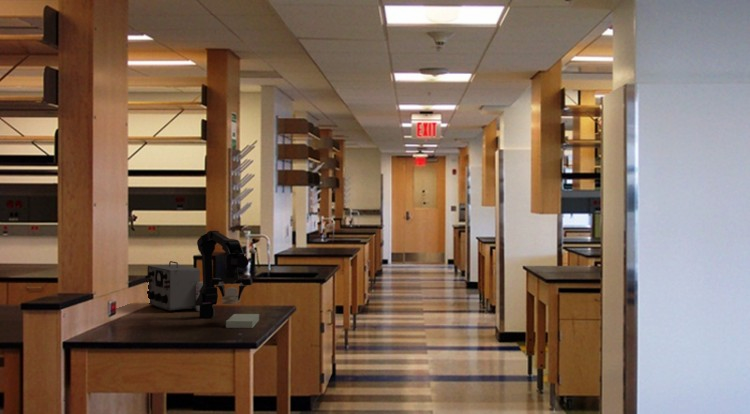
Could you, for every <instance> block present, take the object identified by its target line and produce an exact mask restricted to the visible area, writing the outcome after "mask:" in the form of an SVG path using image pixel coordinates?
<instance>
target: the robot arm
mask: <svg viewBox="0 0 750 414" xmlns="http://www.w3.org/2000/svg"><path fill="white" fill-rule="evenodd" d="M196 244H197V250H198V252H199V253H200V255H201V266H202V267H201V269H202V270H201V272H202V282H203V285H202V287H201V289H200V295H199V297H198V298H197V300H196V303H197V305H199V306H200V312H199V316H198V318H199V319H213V318H214V317H215V316H216V315H215V313H216V311H215V310H216V309H215V307H214V305H217V302H218V298H219V294H218V289H219V292H220V294H221V297H224V296H225V295H226V287H225V285H229V284H230V285H234V284H237V285H239V286H238V294H237V295H238V300H240V301H241V296H242V294H243V291H244V290H245V288H246V287H247V286H251V285H253V279H252V277H244V278H242V279H240V275H239V268H240V269H245V268H246V267H247V266H248V264H249V259H248V258H247V256H245V253H244V249H243V247H242V244H241V242H240V241H239V240H238V239H235V238H229V237H227V236H226V235H225V234H222V233H221V232H220V231H219V230H209V231H207V232H206V233H204V234H202V235H201V236H199V238H198V239H197V242H196ZM217 244H218V245H220V246H221V249H222V250H223V252H224V254H223V257H224V258H225V269H224V271H225V272H224V275H223V279H222V277H214V275H213V271H214V270H213V254H214V252H215V250H216V245H217ZM206 302H209V303H206Z"/></svg>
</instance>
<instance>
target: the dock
mask: <svg viewBox="0 0 750 414" xmlns="http://www.w3.org/2000/svg"><path fill="white" fill-rule="evenodd" d="M259 321H260V314H259V313H234V314H232V315H231V316H230V317H229V318H228V319H227V320H225V328H226V329H231V328H232V329H252V328H254V327H255V326H256V324H257V323H258V322H259Z"/></svg>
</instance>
